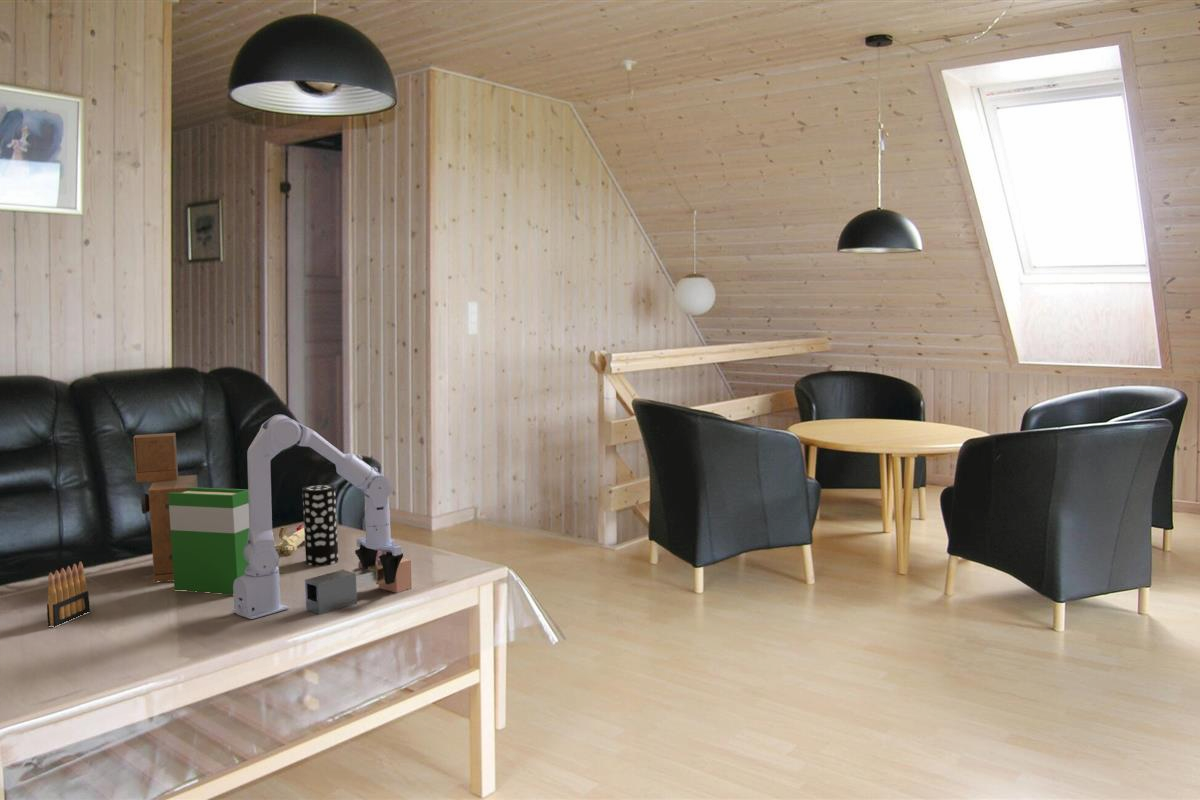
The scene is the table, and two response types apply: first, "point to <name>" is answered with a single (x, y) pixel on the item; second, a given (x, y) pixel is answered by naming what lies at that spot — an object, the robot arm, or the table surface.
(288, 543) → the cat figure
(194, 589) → the hardback book
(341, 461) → the robot arm
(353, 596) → the outer sleeve
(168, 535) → the brown stacked box shape
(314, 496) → the white-spotted black cylinder
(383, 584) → the socket block
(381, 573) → the tube
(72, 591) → the ammunition clip
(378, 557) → the video game controller
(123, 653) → the table surface
